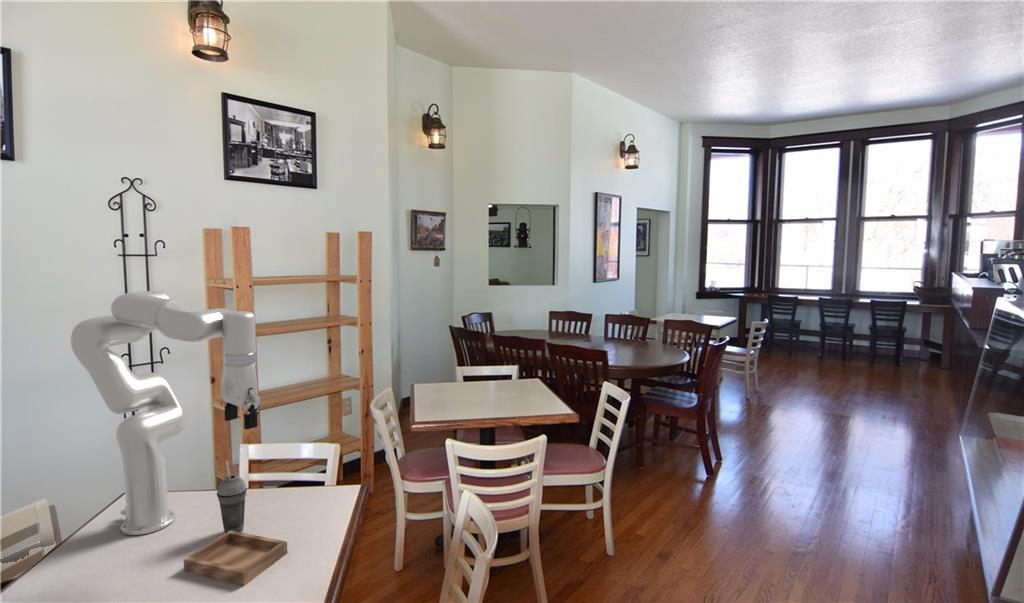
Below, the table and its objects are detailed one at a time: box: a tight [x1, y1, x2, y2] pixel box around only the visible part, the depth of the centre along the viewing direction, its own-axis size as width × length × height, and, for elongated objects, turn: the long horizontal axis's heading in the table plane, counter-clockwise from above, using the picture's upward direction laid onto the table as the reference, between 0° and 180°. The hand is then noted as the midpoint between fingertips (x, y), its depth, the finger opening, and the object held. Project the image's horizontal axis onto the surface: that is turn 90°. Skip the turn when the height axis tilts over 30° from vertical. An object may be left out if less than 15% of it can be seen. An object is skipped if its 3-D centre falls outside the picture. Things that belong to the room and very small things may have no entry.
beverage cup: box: [216, 459, 248, 534], centre depth 146 cm, size 7×7×20 cm
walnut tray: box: [183, 530, 288, 586], centre depth 133 cm, size 18×14×3 cm
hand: (240, 423), depth 141 cm, fingers open, 9 cm apart
